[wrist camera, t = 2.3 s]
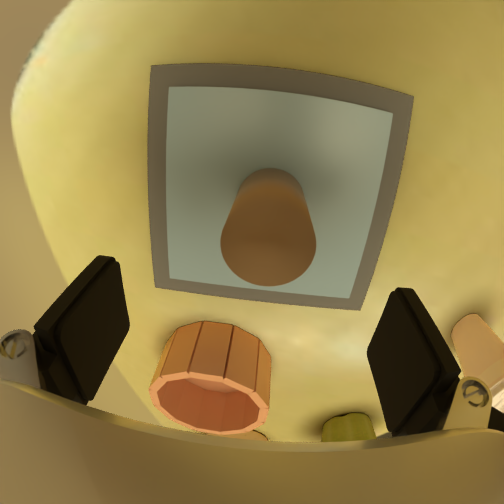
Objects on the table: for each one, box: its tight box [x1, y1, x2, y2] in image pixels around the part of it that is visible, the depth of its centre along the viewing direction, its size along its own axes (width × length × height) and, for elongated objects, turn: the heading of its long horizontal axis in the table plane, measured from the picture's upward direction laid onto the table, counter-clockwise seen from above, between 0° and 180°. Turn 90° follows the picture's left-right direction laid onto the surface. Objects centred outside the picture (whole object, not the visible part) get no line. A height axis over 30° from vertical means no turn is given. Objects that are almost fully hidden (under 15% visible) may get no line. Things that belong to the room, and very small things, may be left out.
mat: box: [148, 63, 414, 311], centre depth 18 cm, size 16×16×1 cm
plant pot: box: [321, 413, 377, 442], centre depth 27 cm, size 9×9×9 cm
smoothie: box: [451, 314, 504, 413], centre depth 17 cm, size 6×6×14 cm
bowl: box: [149, 321, 271, 435], centre depth 24 cm, size 10×10×6 cm
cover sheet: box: [166, 87, 393, 298], centre depth 15 cm, size 13×13×7 cm
